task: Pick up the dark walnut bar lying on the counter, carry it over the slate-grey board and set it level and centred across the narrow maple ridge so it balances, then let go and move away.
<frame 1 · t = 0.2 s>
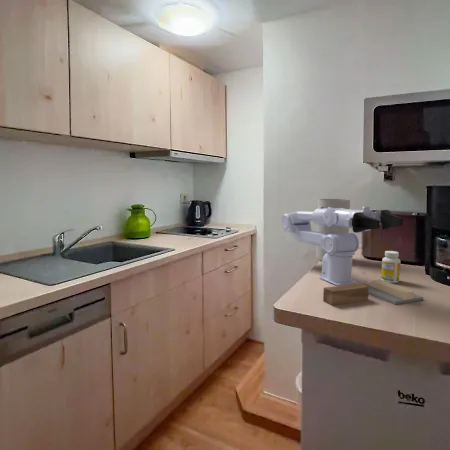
hand: (390, 223, 88), 21 cm above the countertop, tool horizontal, fingers open, 7 cm apart
cylinder vase: (331, 259, 140), on the countertop
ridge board: (391, 295, 95), on the countertop
supplement bottle: (389, 281, 109), on the countertop
walnut bar: (345, 301, 91), on the countertop
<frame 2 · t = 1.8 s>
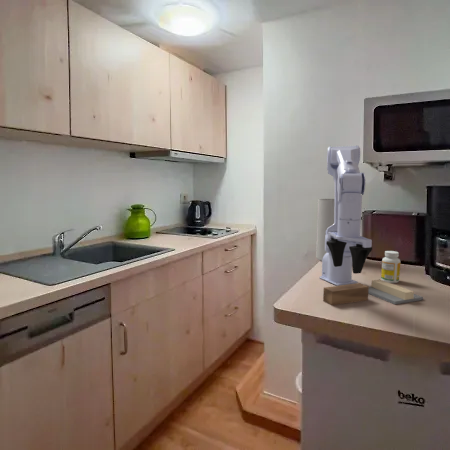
hand: (347, 269, 90), 9 cm above the countertop, tool pointing down, fingers open, 7 cm apart
nothing on the countertop moved.
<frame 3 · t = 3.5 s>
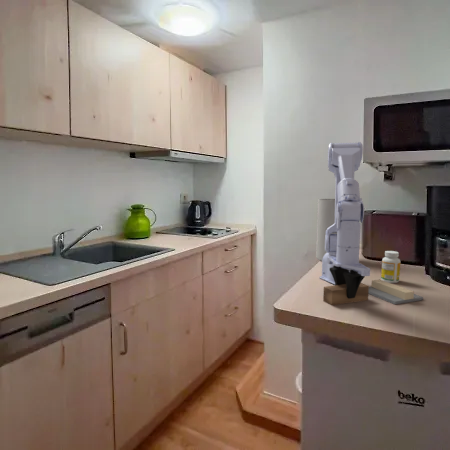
hand: (345, 295, 91), 1 cm above the countertop, tool pointing down, fingers closed on walnut bar, 3 cm apart
walnut bar: (345, 300, 91), on the countertop, touching gripper
everything else where it was.
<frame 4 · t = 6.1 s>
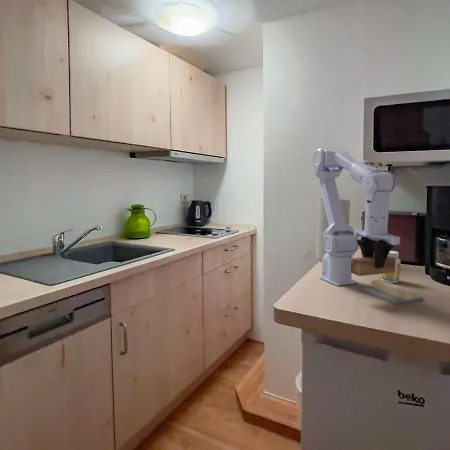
hand: (373, 266, 92), 9 cm above the countertop, tool pointing down, fingers closed on walnut bar, 3 cm apart
walnut bar: (372, 272, 93), point 7 cm above the countertop, touching gripper
everything else where it was.
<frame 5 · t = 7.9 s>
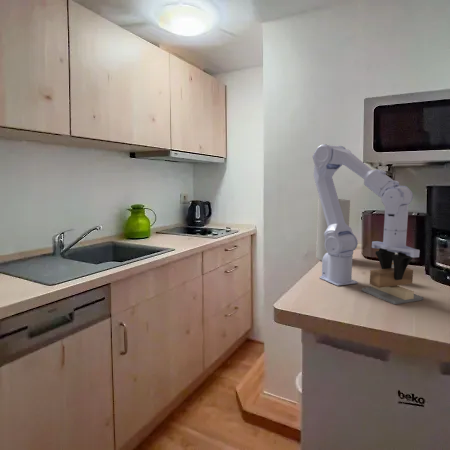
hand: (392, 277, 95), 5 cm above the countertop, tool pointing down, fingers closed on walnut bar, 3 cm apart
walnut bar: (391, 283, 95), point 3 cm above the countertop, touching gripper
everything else where it was.
when the fingers open (5 cm above the countertop, at t = 9.1 s): walnut bar stays where it is, resting on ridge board.
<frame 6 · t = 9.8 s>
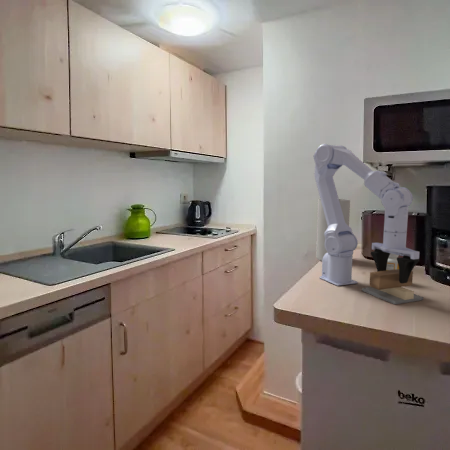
hand: (392, 279, 95), 5 cm above the countertop, tool pointing down, fingers open, 7 cm apart
walnut bar: (390, 285, 95), point 3 cm above the countertop, touching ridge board
everything else where it was.
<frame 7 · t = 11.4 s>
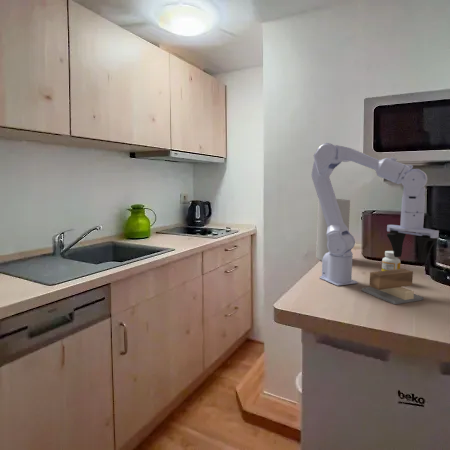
hand: (409, 259, 96), 10 cm above the countertop, tool pointing down, fingers open, 7 cm apart
nothing on the countertop moved.
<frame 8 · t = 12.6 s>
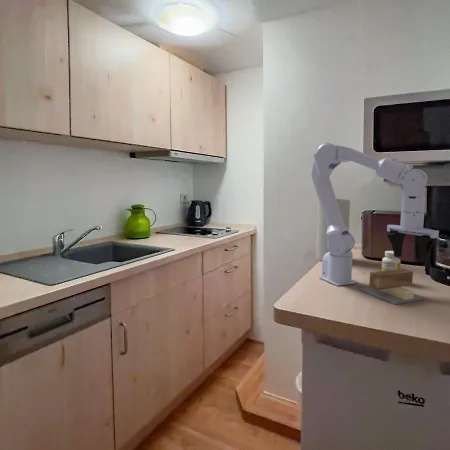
hand: (409, 259, 96), 10 cm above the countertop, tool pointing down, fingers open, 7 cm apart
nothing on the countertop moved.
at the end: walnut bar inside the target area on the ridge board (0.3 cm from its centre), point 2.8 cm above the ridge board's base; walnut bar tilted 0°; the gripper is holding nothing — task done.
